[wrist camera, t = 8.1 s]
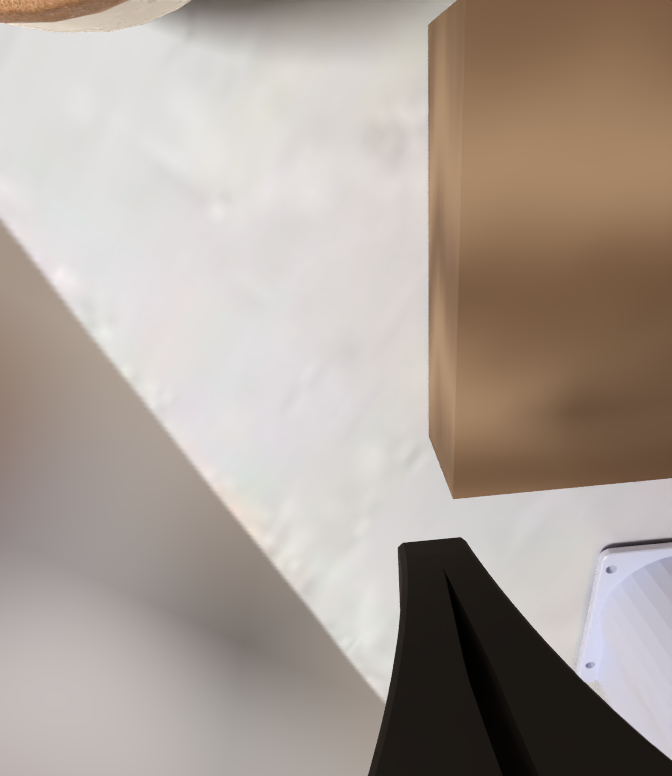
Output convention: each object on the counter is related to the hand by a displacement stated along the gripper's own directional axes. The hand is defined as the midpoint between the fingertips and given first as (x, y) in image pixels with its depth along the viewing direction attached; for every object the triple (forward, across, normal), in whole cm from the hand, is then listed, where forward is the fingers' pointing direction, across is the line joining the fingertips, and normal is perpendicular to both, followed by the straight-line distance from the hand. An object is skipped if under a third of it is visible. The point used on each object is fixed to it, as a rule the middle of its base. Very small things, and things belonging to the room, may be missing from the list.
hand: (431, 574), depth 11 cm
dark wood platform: (+10, -10, -4) cm, 14 cm away
